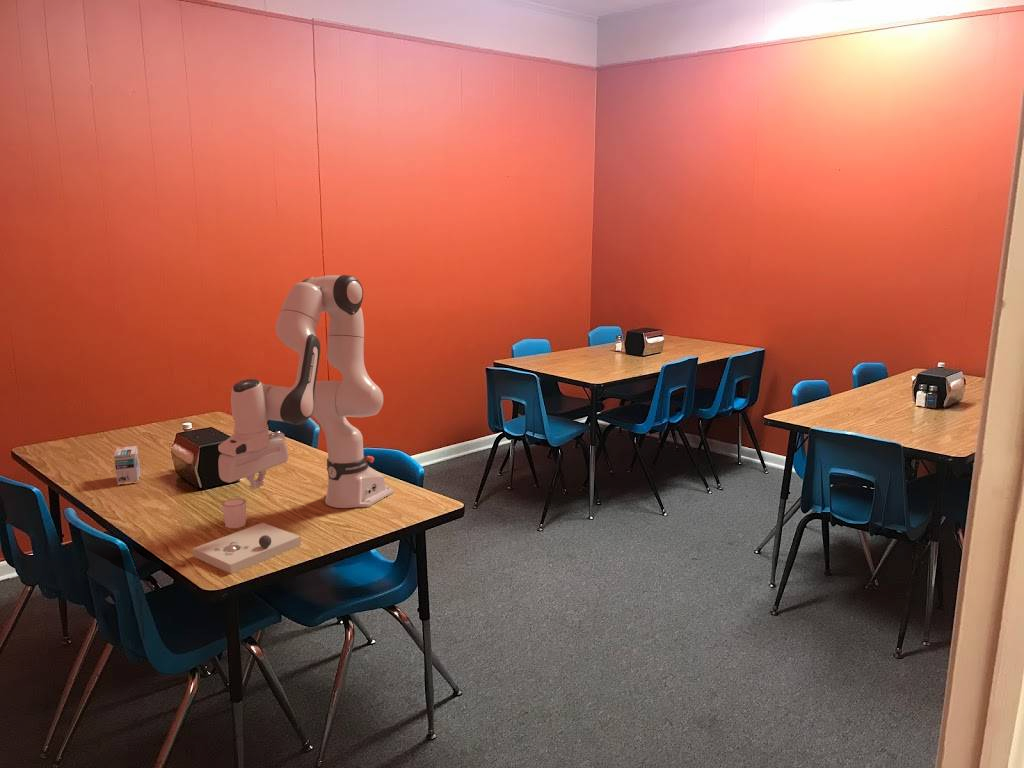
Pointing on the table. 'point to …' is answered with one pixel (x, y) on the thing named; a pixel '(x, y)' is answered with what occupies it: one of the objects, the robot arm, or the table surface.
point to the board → (246, 547)
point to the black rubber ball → (265, 541)
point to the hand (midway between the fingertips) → (257, 486)
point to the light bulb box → (127, 464)
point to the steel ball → (231, 549)
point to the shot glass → (234, 513)
